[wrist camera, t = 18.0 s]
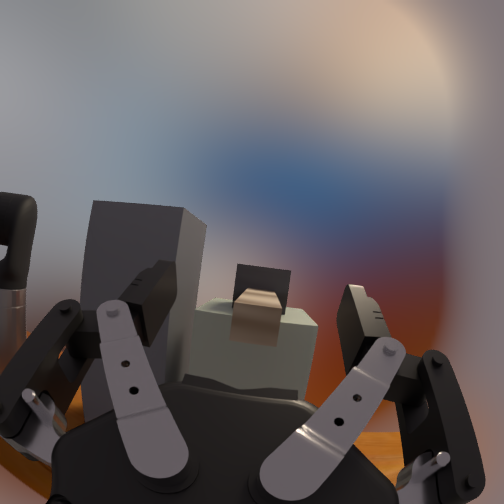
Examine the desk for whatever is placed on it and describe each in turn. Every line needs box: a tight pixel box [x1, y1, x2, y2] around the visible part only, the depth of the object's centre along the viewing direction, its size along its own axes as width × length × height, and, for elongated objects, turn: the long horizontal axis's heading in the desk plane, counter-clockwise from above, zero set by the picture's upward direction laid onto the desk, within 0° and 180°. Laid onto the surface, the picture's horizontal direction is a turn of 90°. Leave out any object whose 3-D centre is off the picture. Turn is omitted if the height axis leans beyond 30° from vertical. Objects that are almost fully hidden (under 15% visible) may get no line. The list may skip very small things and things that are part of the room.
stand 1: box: [80, 201, 207, 423], centre depth 34 cm, size 12×12×32 cm
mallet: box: [229, 264, 291, 347], centre depth 27 cm, size 20×6×5 cm, turn 177°
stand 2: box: [188, 298, 318, 400], centre depth 31 cm, size 12×12×22 cm
